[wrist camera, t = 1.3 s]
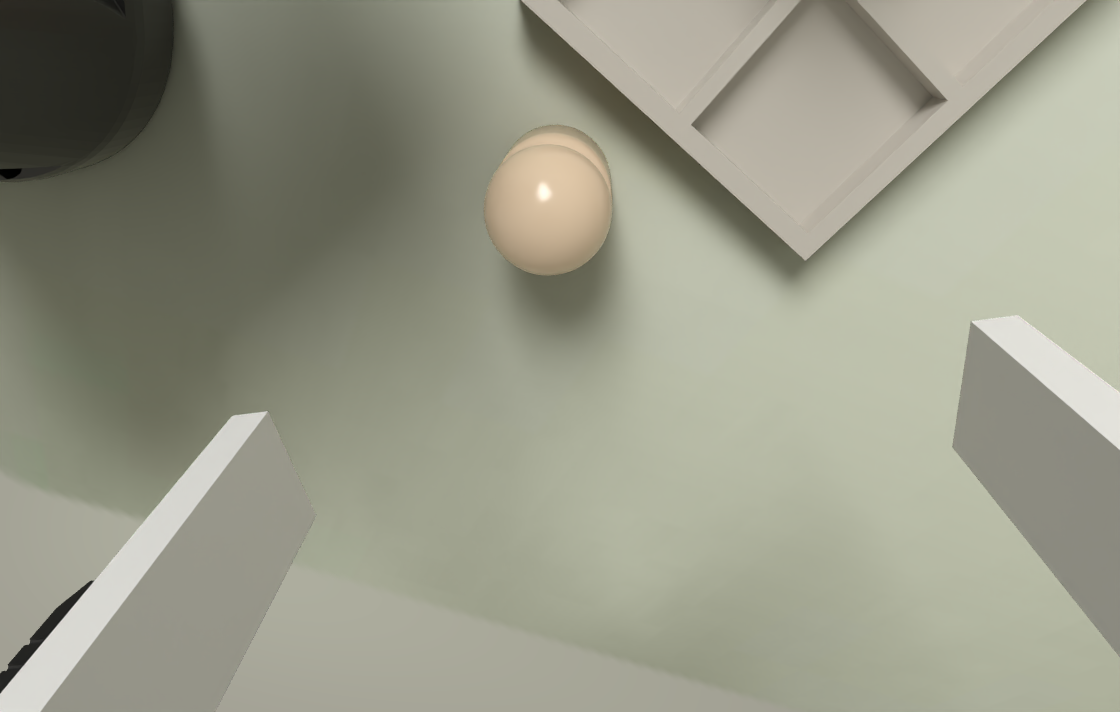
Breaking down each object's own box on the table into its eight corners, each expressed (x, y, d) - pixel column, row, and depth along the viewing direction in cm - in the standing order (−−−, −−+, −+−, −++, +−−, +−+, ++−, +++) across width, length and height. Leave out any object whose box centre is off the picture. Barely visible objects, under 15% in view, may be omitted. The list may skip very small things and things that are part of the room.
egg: (480, 188, 28) (446, 237, 22) (547, 99, 26) (531, 126, 20) (563, 256, 29) (553, 320, 23) (633, 175, 27) (642, 222, 21)
